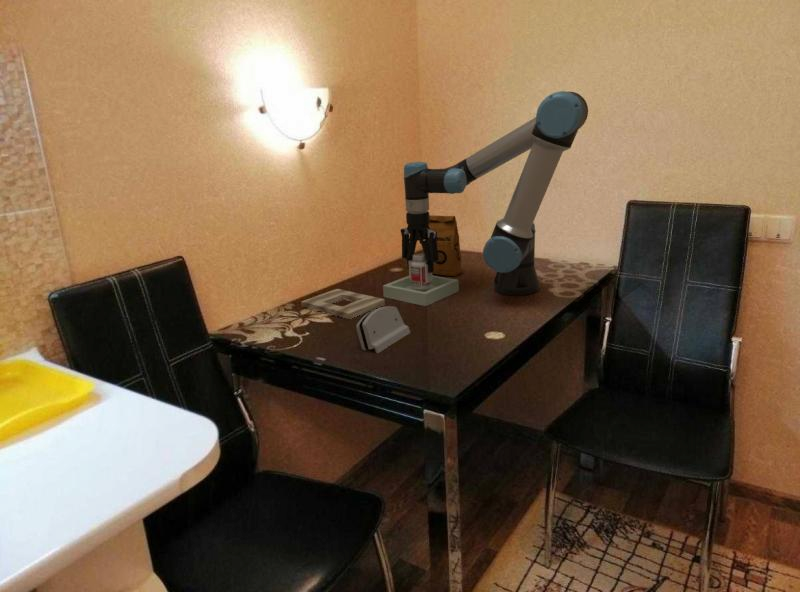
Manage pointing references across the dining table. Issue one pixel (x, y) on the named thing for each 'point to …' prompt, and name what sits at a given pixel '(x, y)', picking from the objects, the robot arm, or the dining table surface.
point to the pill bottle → (419, 272)
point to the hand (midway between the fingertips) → (420, 280)
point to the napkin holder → (381, 328)
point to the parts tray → (421, 290)
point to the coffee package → (446, 245)
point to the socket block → (348, 311)
